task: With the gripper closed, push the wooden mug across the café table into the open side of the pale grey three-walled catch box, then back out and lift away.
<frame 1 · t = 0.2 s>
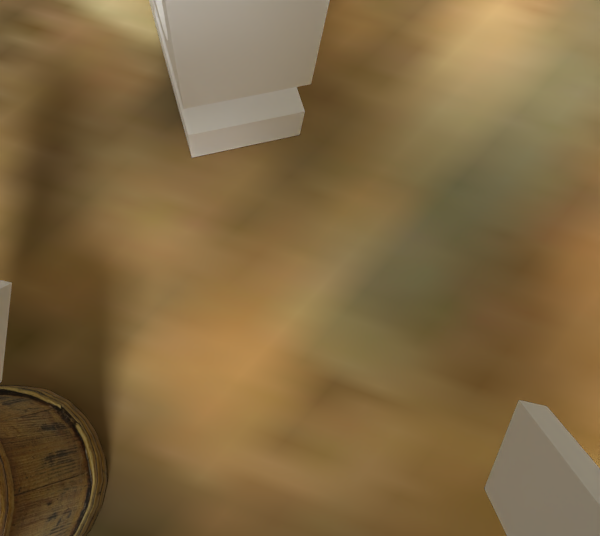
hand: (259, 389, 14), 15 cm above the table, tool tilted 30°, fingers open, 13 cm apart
bracket: (205, 8, 35), on the table
wooden mug: (1, 435, 27), on the table
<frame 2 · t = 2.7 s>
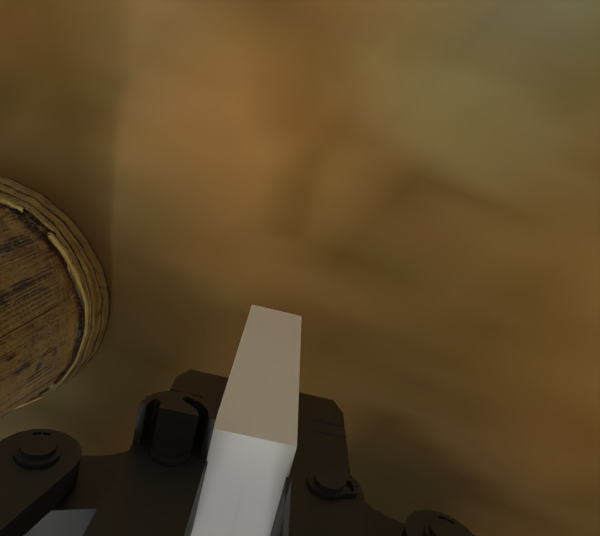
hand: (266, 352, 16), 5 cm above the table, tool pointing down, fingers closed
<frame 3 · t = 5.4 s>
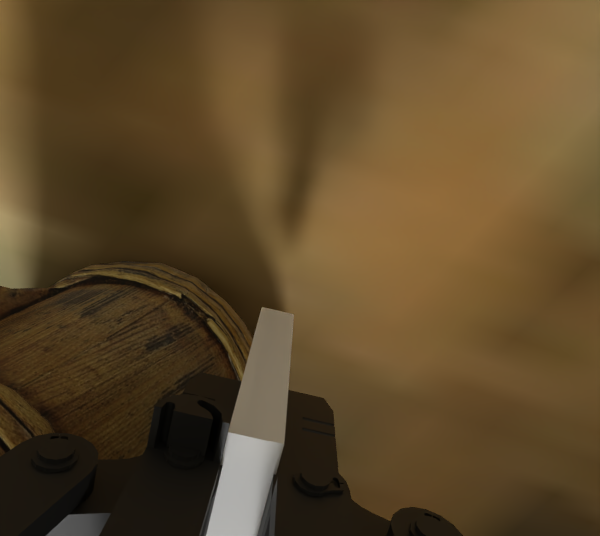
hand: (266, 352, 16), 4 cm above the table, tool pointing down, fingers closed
wooden mug: (124, 327, 19), on the table, touching gripper, hand
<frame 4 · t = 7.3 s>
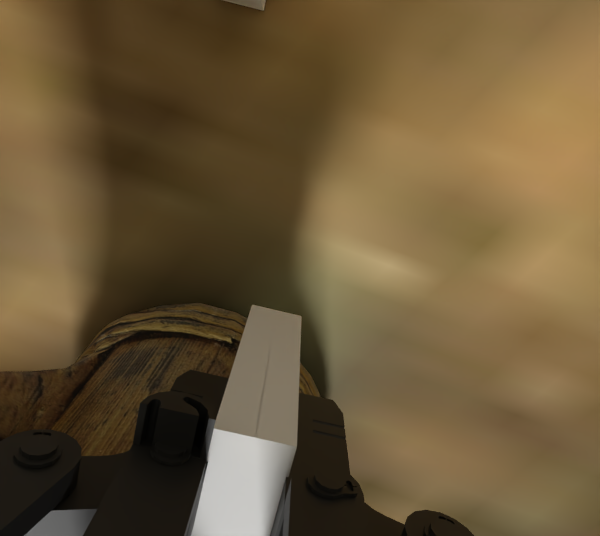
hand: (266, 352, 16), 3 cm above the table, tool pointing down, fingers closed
wooden mug: (166, 367, 19), on the table, touching gripper, hand
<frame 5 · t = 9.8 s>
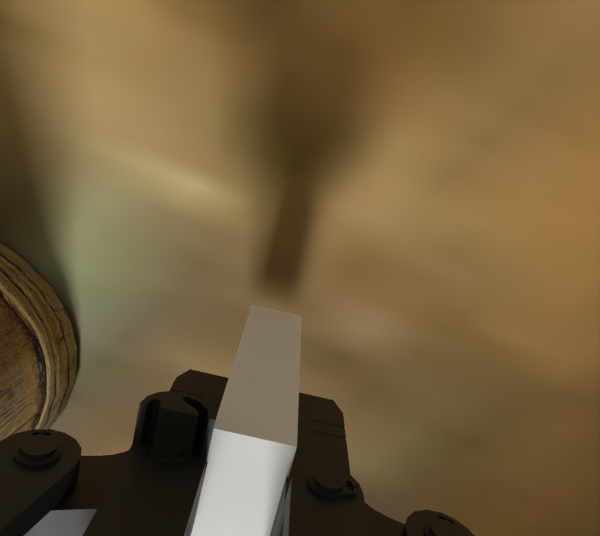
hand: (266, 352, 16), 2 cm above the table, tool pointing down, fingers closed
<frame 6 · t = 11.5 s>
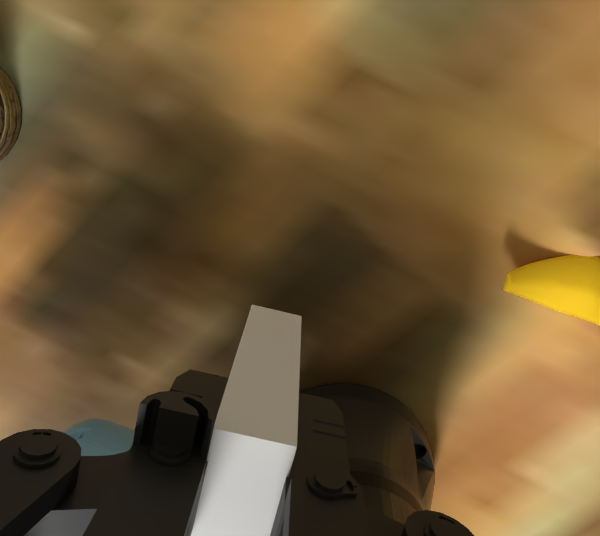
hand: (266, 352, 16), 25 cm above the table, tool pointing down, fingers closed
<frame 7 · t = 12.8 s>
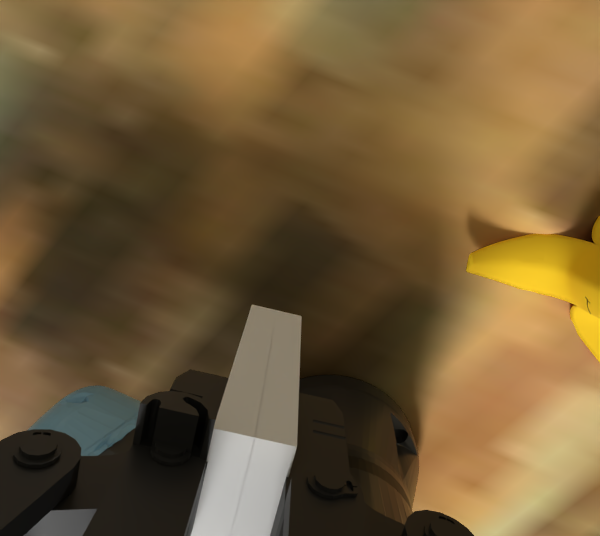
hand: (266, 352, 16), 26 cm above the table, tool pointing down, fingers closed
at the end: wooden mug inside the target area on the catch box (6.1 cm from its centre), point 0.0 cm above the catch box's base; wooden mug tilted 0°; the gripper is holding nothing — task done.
